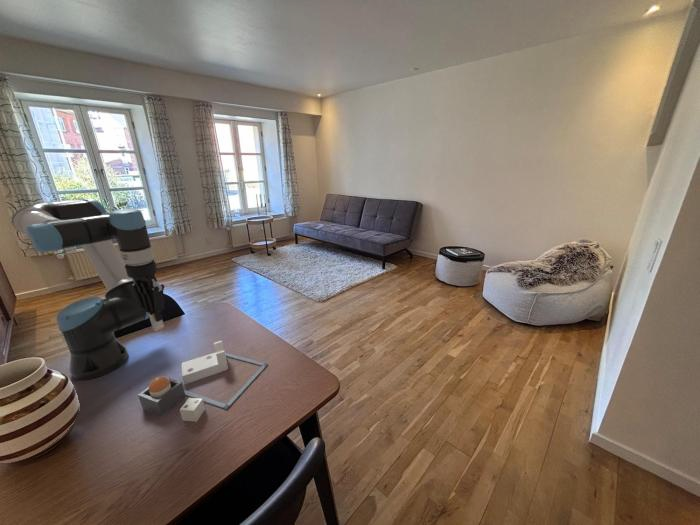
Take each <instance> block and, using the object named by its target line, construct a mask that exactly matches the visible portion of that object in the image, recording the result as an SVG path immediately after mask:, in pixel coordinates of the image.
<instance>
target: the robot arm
mask: <svg viewBox="0 0 700 525" xmlns="http://www.w3.org/2000/svg"><path fill="white" fill-rule="evenodd" d="M11 224H12V226H13V228H14V229H15V230H16V231H17V232H19V233H20V234H21V235H24V236H26V237H28V239H29V242H30V244H31V245H32V246H33V248H34V249H35V250H36V252H39V253H47V252H56V251H57V252H58V251H60V250H64V249H70V248H74V247H79V246H81V247H82V249H83V250H84V252H85V254H86V255H87V257H88V260H89V261H90V262H91V265H92V266H93V268H94V269H95V271H96V273H97V275H98V277H99V278H100V280H101V281H102V283H103V285H104V287H105V288H106V290H107V291H106V292H105V293H104V297H105V299H102V298H101V297H99V296H94V297H93V296H91V297H89V298H88V297H87V298H83V299H80V300H77V301H74V302H72V303H70V304H69V305H66V306H65V307H63V308H62V309H61V310H60V311H59V312H58V313H57V314H56V318H55V319H56V322H57V326H58V330H59V332H61V335H62V337H63V338H64V339H63V340H64V341H65V344H66V346H67V348H68V350H69V353H70V360H69V361H70V362H69V372H70V374H71V377H72V378H73V379H74V380H78V381H86V380H93V379H95V378H99V377H102V376H104V375H107V374H109V373H111V372H112V371H115V370H117V369H118V368H119V367H121V366H122V365H123V364H124V363H125V362H126V361H127V359H128V358H129V352H128V350H127V348H126V347H125V345H123V344H122V343H121V342H120V340H118V339H117V338H116V335H115V332H116V331H119V330H122V329H124V328H126V327H130V326H132V325H134V324H137V323H139V322H141V321H146V320H147V319H149V320H150V321H149V322H150V323H151V327H152V330H153V331H154V332H158V331H159V330H161V329H163V328H165V323H164V320H163V317H162V313H161V312H162V311H163V310H165V309H166V308H165V297H164V296H165V295H164V294H165V293H164V290H165V285H164V284H163V283H161V284H160V283H159V282H158V279H157V278H156V276H155V274H156V273H157V272H158V266H157V263H156V260H154V259H155V255H154V250H153V248H152V244H151V241H150V236H149V233H148V229H147V226H146V225H147V224H146V220H145V218H144V214H143V212H142V211H141V210H140V209H136V208H124V209H123V208H122V209H116V210H113V211H110V212H107V209H106V208H105V206H104V205H103V203H101V202H100V201H98V200H97V199H94V198H92V197H91V198H83V197H79V198H77V199H66V200H55V201H53V200H52V201H42V202H36V203H31V204H29V205H26V206H24V207H22V208H20V209H18V210H17V211H15V213H14V214H13V215H12V218H11ZM112 240H116V242H117V245H118V249H117V248H116V246H115V244H114V243H113V241H112ZM118 250H119V251H120V252H119V251H118Z"/></svg>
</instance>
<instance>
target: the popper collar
mask: <svg viewBox="0 0 700 525" xmlns="http://www.w3.org/2000/svg"><path fill="white" fill-rule="evenodd" d="M165 377H166V376H165ZM166 378H168V379H169V381H170V385H171V389H170V390H169V391H168V392H166V393H165V394H164V395H163V396H161V397H160V398H159V399H156V398H153V397H151V395H150V392H149V386H147V388H145V389H144V390H142V391H141V392H139V394H137V397H138V399H139V402H140V405H141V407H142V410H146V411H148V412H151V413H154V414H156V415H159V416H160V417H163V416H164V415H165V414H166V413H167V412H168V411H169V410H171V409H172V408H173V407H174V406H175V405H176V404H178V403H179V402H180V401H181V400H182V399H183V398H184V397H186V395H185V392H184V390H185V389H184V386H183V381H179V380H177V379H173V378H171V377H166Z"/></svg>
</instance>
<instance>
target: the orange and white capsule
mask: <svg viewBox="0 0 700 525" xmlns="http://www.w3.org/2000/svg"><path fill="white" fill-rule="evenodd" d="M168 378H169V377H167V378H166V376H164V375H163V376H162V375H160V376H157V377H154V378H153V379H152V380H151V381H150V383H149V385H148V387H149V392H150V395H151V397H153V398H156V399H159V398H160V397H161V396H163V395H164V394H165V393H166V392H168V391H169V390H170V389H171V385H170V381H169V379H168Z"/></svg>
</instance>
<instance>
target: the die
mask: <svg viewBox="0 0 700 525" xmlns="http://www.w3.org/2000/svg"><path fill="white" fill-rule="evenodd" d="M205 411H206V407H205V402H203V399H201V398H191V397H188V398H187V400H186V401H185V403H184V404H183V405H182V406H181V408H180V409H179V413H180V416H181V418H182V421H183V422H198V421H199V419H200V418H201V416H202V415H203V413H204V412H205Z"/></svg>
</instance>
